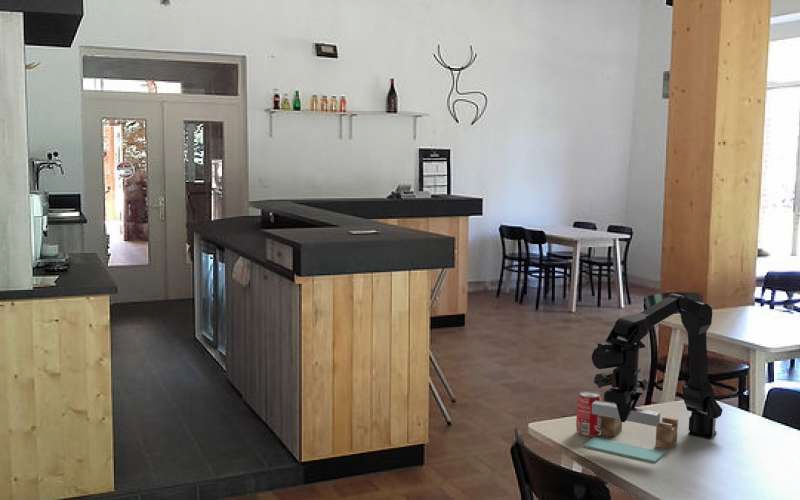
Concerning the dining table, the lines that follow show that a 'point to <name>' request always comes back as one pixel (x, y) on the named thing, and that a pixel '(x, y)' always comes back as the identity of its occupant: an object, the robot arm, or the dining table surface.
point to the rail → (633, 416)
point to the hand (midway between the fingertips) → (625, 420)
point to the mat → (624, 449)
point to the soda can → (588, 414)
